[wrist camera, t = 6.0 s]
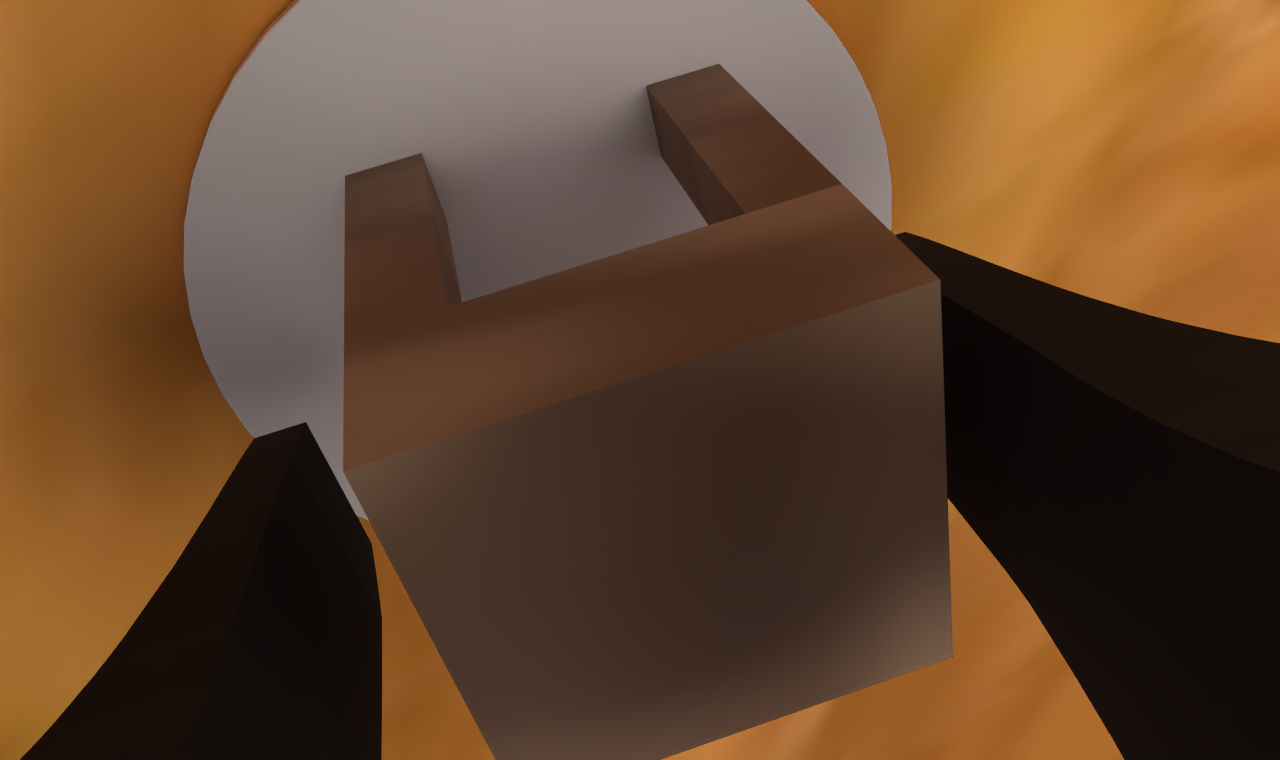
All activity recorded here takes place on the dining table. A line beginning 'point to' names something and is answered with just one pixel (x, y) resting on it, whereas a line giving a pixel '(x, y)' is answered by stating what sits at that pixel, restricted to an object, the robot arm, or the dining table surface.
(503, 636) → the stool
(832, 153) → the plate
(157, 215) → the dining table surface
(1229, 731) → the robot arm
